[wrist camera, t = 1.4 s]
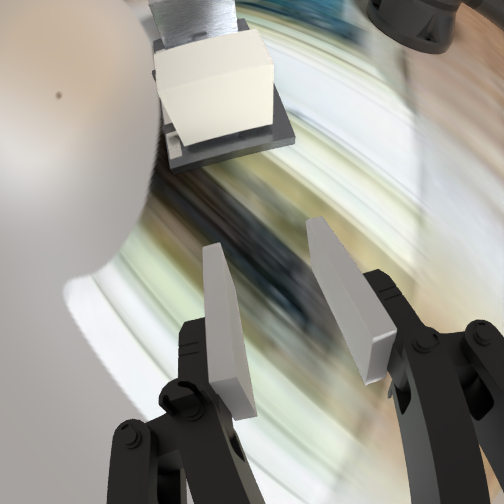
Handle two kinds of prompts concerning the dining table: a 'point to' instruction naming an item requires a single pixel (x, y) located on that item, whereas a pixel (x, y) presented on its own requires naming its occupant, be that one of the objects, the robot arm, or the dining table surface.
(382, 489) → the dining table surface
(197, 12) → the frame
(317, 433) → the dining table surface
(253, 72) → the block
